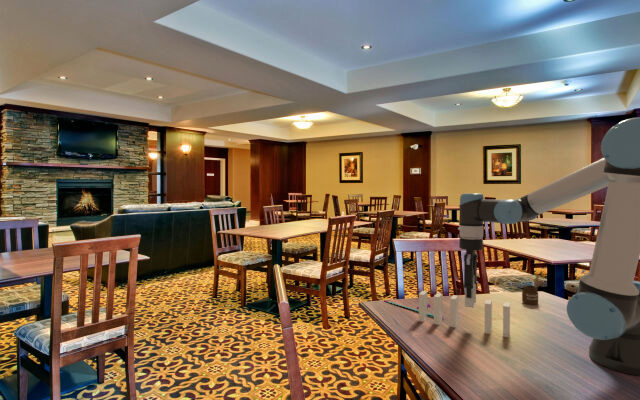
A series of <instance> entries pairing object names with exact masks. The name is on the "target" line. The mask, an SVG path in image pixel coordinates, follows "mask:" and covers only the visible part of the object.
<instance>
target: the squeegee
mask: <svg viewBox="0 0 640 400" xmlns="http://www.w3.org/2000/svg"><path fill="white" fill-rule="evenodd" d="M388 301H389V300H383V302H384V303H389V304H391V303H392V305H394V304H395V306H397V305H398V307H400V306H402V307H401V308H403V307H405V308H404V309H406V308H408V309H407V310H410V309H411V310H410V311H413V310H414V311H413V312H416V311H417V312H416V313H419V310H418V309H419V306H417V307H416V308H413V307H409V306H405V305H402V304H399V303H396V302H392V301H389V302H388ZM428 307H429V308H431V304H429V303H427V309H428ZM428 315H429V316H428ZM427 316H428V317H431V318H434V313H430V312H427ZM442 321H444V316H442Z"/></svg>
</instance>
